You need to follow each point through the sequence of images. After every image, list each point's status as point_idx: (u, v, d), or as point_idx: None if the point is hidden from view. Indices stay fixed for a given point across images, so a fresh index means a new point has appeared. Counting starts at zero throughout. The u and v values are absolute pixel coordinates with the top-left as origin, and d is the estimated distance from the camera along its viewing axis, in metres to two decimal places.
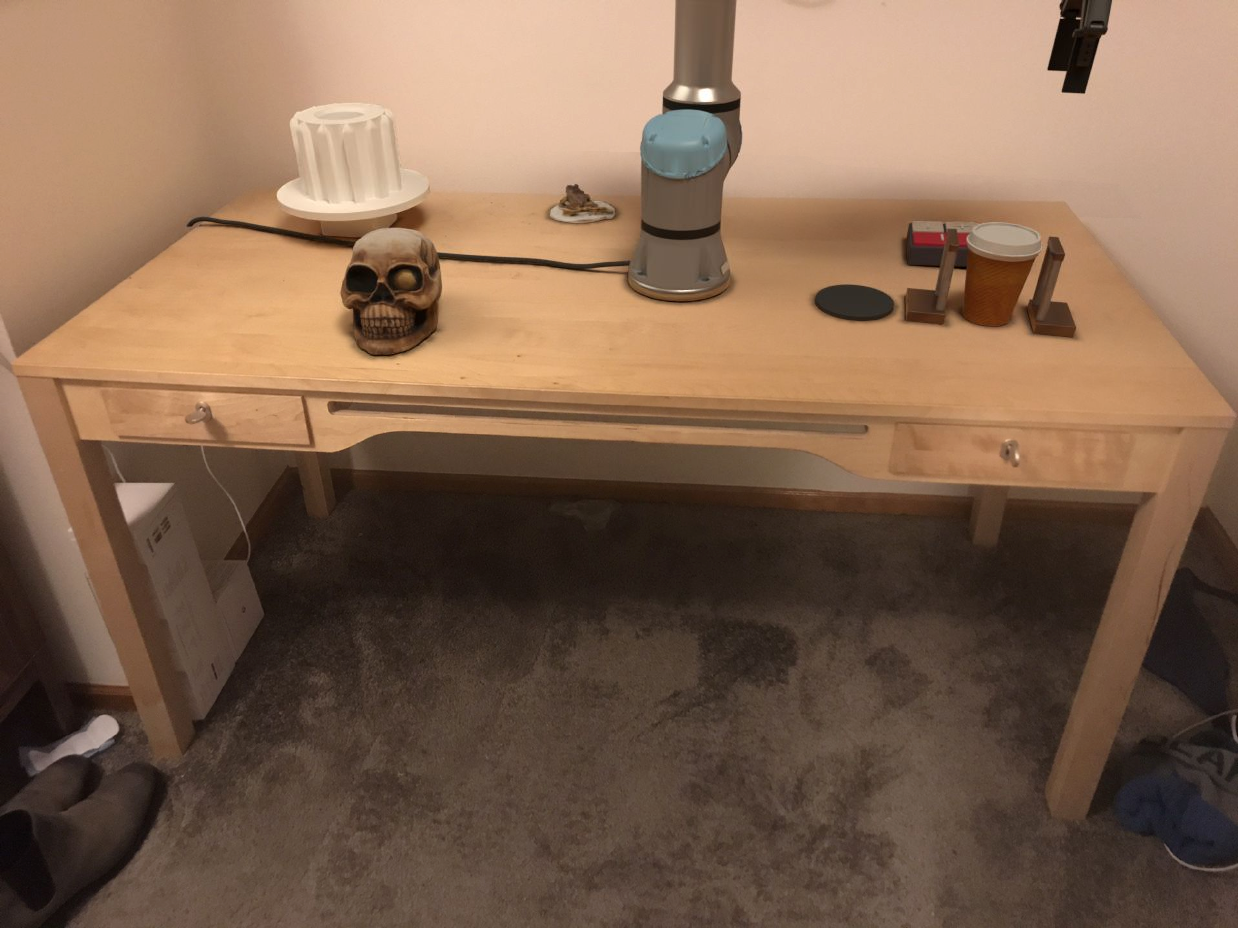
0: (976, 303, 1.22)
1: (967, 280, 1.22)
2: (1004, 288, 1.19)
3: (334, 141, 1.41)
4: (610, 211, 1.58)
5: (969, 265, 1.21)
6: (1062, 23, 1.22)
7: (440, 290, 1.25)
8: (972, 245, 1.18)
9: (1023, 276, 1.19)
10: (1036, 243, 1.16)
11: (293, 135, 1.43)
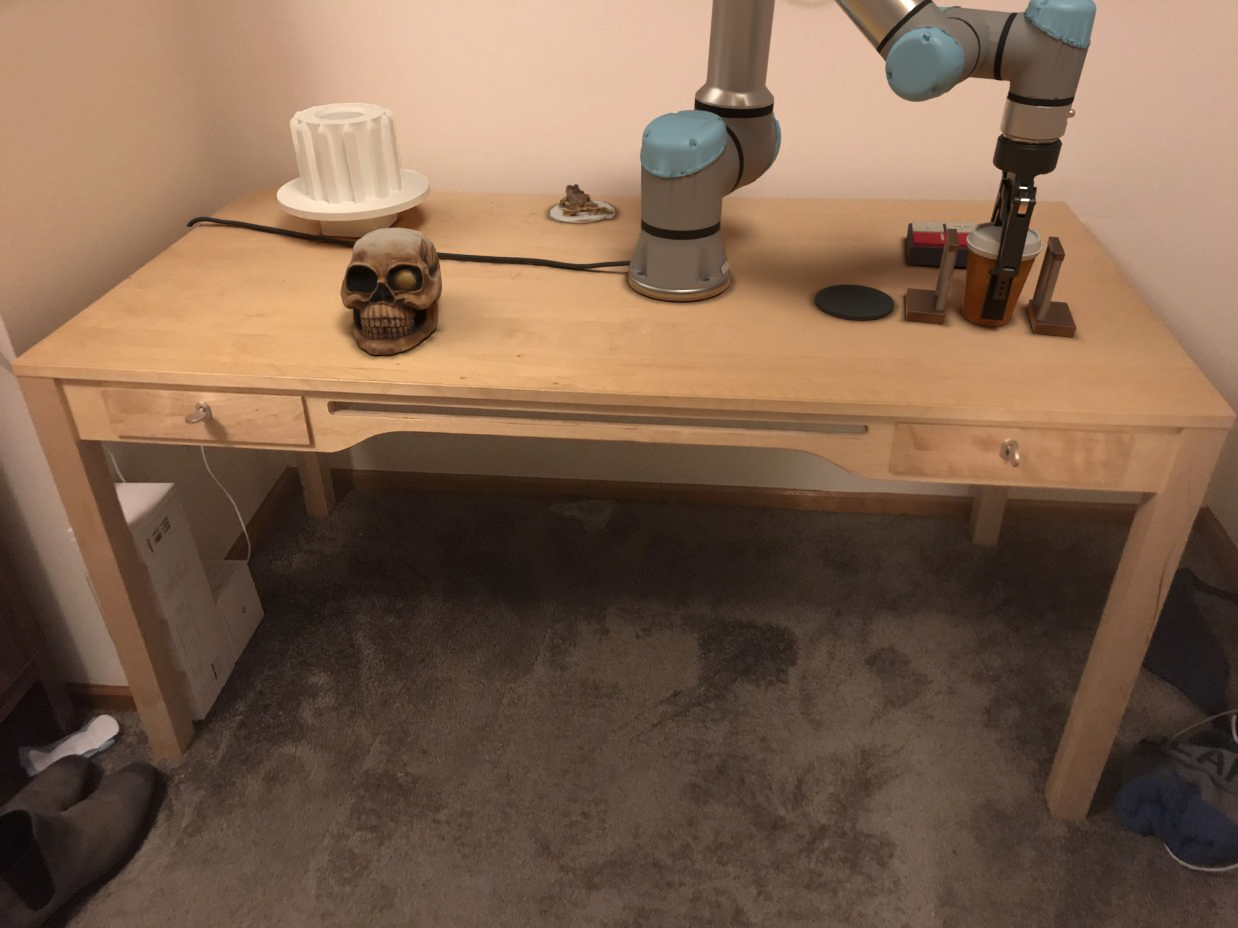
0: (976, 303, 1.22)
1: (967, 280, 1.22)
2: None
3: (334, 141, 1.41)
4: (610, 211, 1.58)
5: (969, 265, 1.21)
6: None
7: (440, 290, 1.25)
8: (972, 245, 1.18)
9: (1023, 276, 1.19)
10: (1036, 243, 1.16)
11: (293, 135, 1.43)
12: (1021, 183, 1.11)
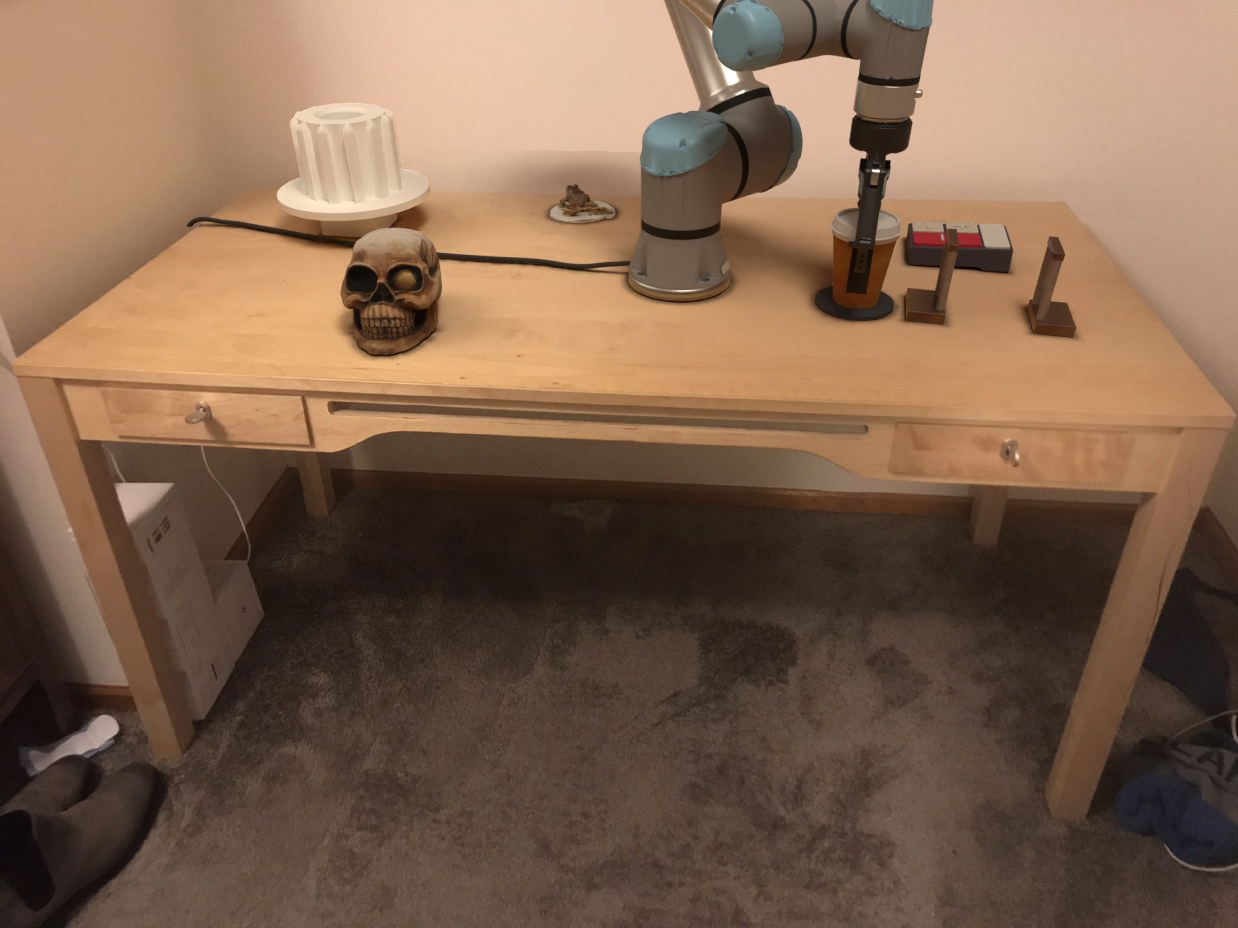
0: (842, 287, 1.25)
1: (833, 264, 1.26)
2: None
3: (334, 141, 1.41)
4: (610, 211, 1.58)
5: (834, 249, 1.24)
6: None
7: (440, 290, 1.25)
8: (834, 229, 1.22)
9: (884, 260, 1.22)
10: (893, 227, 1.19)
11: (293, 135, 1.43)
12: (873, 162, 1.14)
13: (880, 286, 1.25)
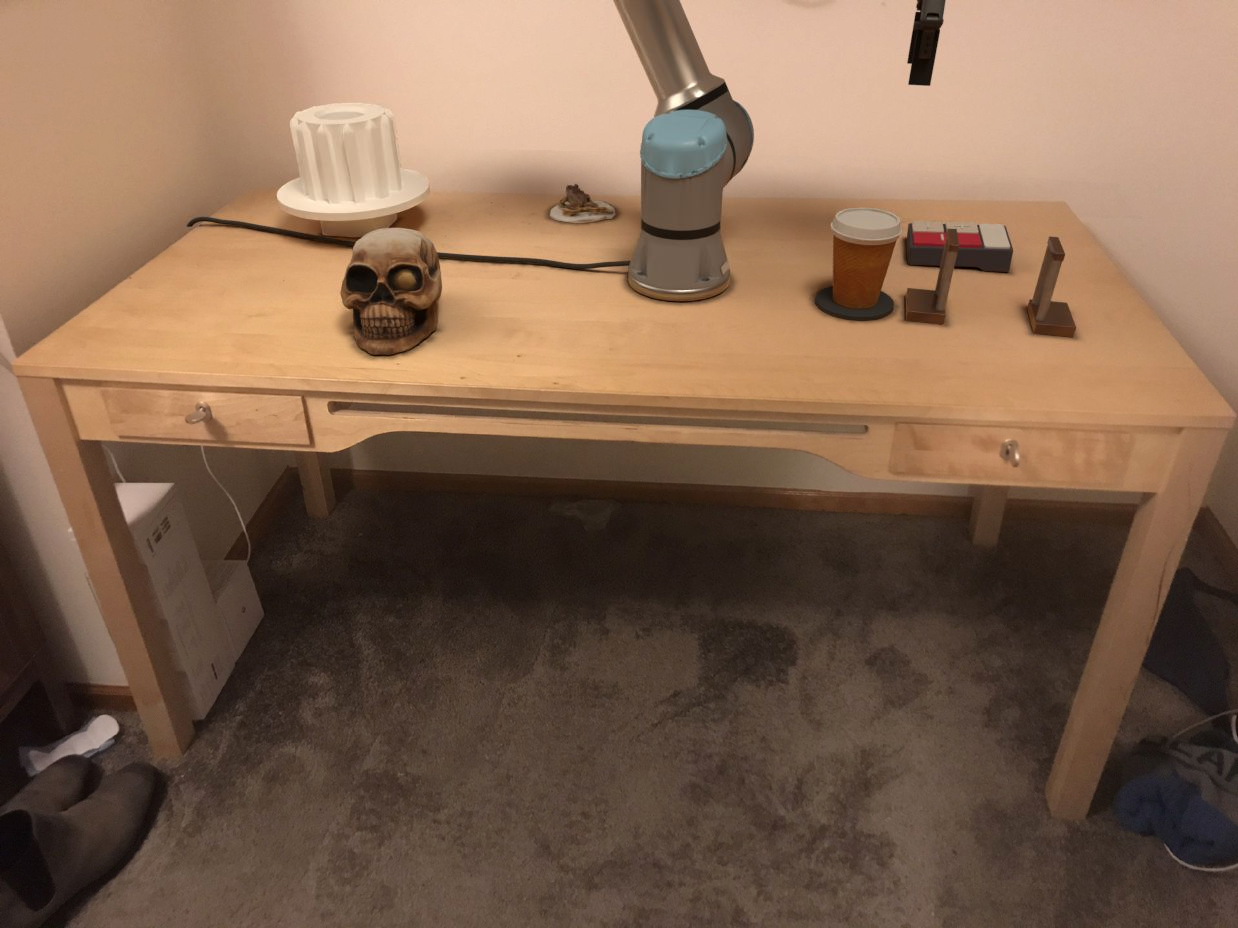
0: (842, 287, 1.25)
1: (833, 264, 1.26)
2: (865, 272, 1.22)
3: (334, 141, 1.41)
4: (610, 211, 1.58)
5: (834, 249, 1.24)
6: (917, 16, 1.23)
7: (440, 290, 1.25)
8: (834, 229, 1.22)
9: (884, 260, 1.22)
10: (893, 227, 1.19)
11: (293, 135, 1.43)
12: None
13: (880, 286, 1.25)
